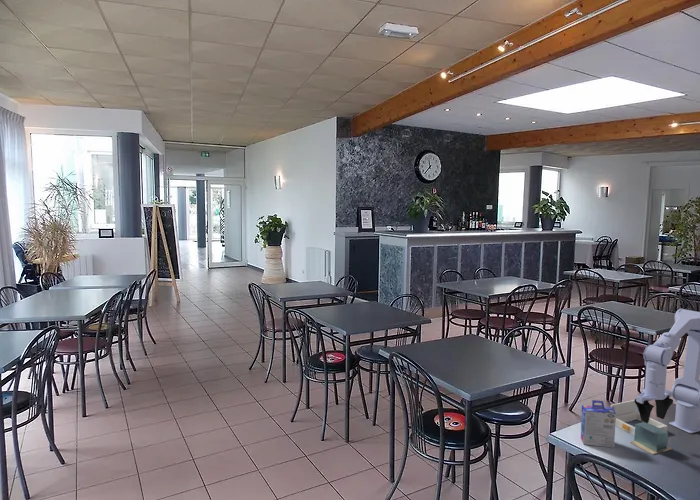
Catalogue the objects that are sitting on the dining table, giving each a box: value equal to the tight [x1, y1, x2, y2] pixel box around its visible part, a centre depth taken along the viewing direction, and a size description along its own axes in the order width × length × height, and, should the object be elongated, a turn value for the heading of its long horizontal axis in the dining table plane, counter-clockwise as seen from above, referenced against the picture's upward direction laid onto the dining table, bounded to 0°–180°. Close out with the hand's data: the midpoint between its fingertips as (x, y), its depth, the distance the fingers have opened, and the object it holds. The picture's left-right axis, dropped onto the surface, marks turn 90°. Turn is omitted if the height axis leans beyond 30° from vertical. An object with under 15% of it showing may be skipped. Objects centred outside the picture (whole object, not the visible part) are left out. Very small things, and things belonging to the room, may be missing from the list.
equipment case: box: [615, 411, 668, 436], centre depth 172 cm, size 13×12×2 cm
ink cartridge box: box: [580, 399, 616, 448], centre depth 161 cm, size 10×6×14 cm, turn 78°
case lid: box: [609, 399, 637, 416], centre depth 177 cm, size 13×2×7 cm, turn 111°
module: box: [633, 422, 669, 452], centre depth 159 cm, size 5×8×6 cm, turn 21°
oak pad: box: [630, 440, 673, 455], centre depth 159 cm, size 9×8×1 cm
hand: (652, 419), depth 158 cm, fingers open, 7 cm apart
